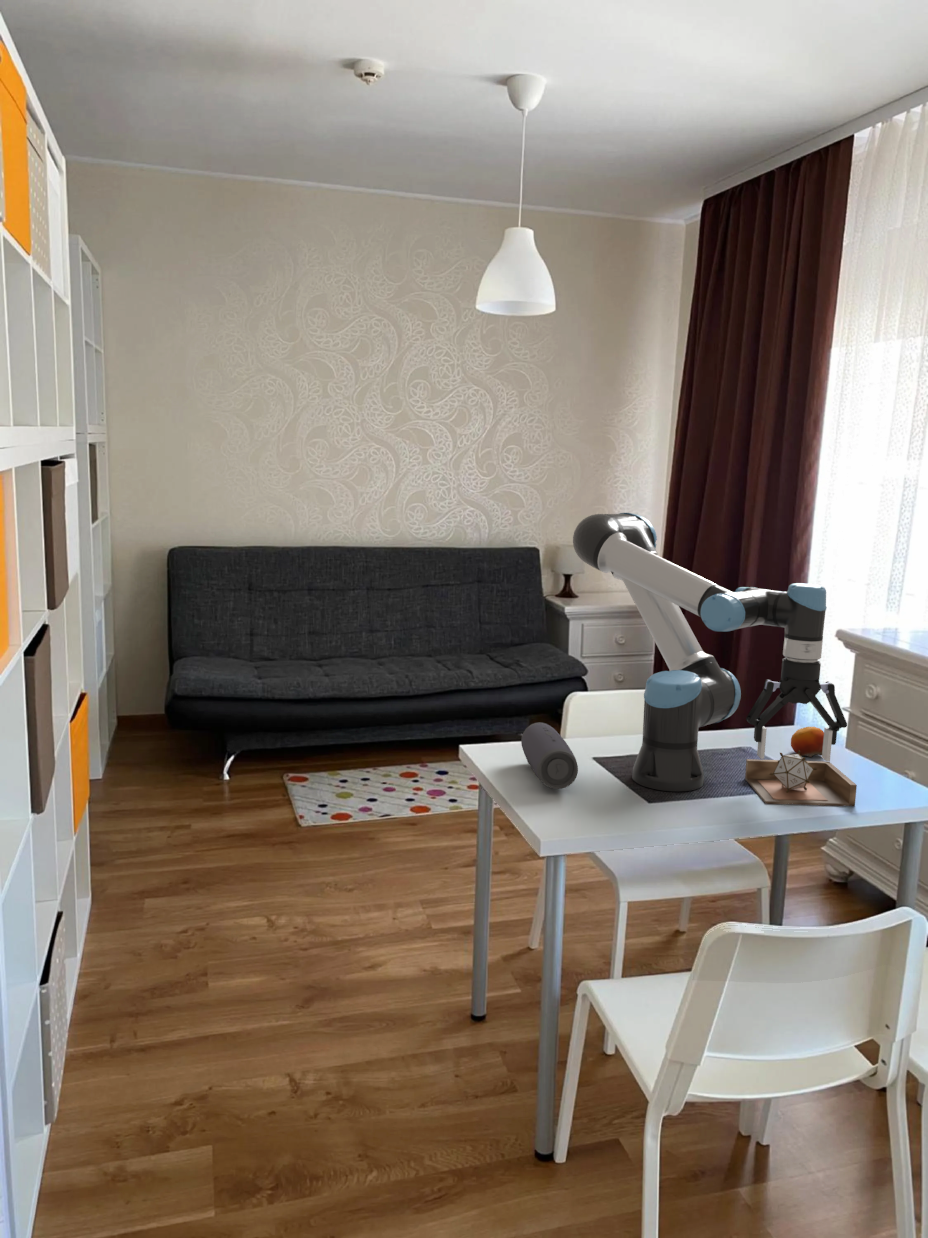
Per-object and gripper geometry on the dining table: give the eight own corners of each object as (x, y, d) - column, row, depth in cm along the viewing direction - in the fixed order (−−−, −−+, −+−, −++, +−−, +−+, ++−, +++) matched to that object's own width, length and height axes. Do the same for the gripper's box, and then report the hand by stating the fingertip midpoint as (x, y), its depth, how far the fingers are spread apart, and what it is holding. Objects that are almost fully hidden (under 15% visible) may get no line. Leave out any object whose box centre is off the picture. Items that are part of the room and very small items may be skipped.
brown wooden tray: (765, 803, 197) (767, 782, 196) (745, 779, 213) (746, 759, 212) (854, 806, 197) (856, 785, 196) (827, 781, 213) (829, 761, 212)
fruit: (815, 757, 226) (803, 724, 229) (791, 766, 233) (781, 734, 235) (839, 753, 230) (828, 720, 232) (816, 762, 236) (805, 730, 239)
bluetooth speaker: (580, 795, 200) (582, 748, 198) (535, 795, 199) (537, 748, 197) (558, 762, 222) (560, 719, 221) (518, 762, 221) (519, 720, 220)
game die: (782, 807, 204) (755, 769, 204) (796, 784, 210) (769, 747, 210) (818, 797, 198) (790, 757, 197) (831, 773, 204) (804, 735, 203)
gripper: (745, 660, 197) (738, 761, 200) (869, 664, 196) (859, 765, 199) (736, 653, 204) (729, 750, 207) (855, 657, 203) (846, 755, 207)
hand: (793, 758), depth 203 cm, fingers open, 13 cm apart
